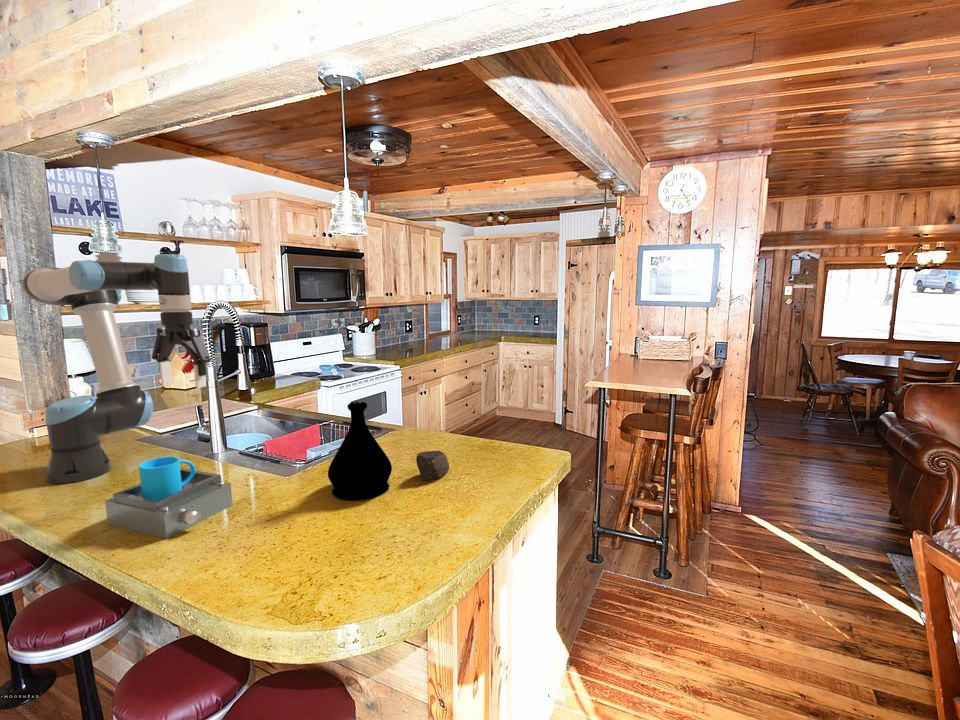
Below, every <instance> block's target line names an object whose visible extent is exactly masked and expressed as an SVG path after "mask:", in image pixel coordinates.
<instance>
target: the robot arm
mask: <svg viewBox="0 0 960 720" xmlns="http://www.w3.org/2000/svg"><path fill="white" fill-rule="evenodd" d="M153 259H154V260H153V261H154V262H133V261H132V262H130V261H128V262H127V261H104V260H103V261H101V260H100V261H99V260H92V259H90V260H89V259H87V260H75V261H72V262H71V265H69V266H66V267H44V268H43V267H42V268H38V269H33V270H31V271H29V272H27V273H26V274H25V275H24V276H23V279H22V290H23V291H24V292H25V294H26V295H27V296H29V298H31V299H32V300H34V301H36V302H38V303H42V304H45V305H50V306H70V307H71V310H72V313H73V314H75V315H77V316H79V317H80V321H81V323H82V327H83V330H84V335H85V338H86V342H87V344H88V349H89V352H90V356H91V359H92V363H93V367H94V370H95V373H96V378H97V380H98V381H97V382H98V385H99V388H98V391H97V392H95V396H96V398H95V397H94V396H93V395H79V396H73V397H69V398H68V397H67V398H65V399H60V400H57V401H55V402H53V403H51V404H50V405H48V406H47V407H46V409H45V424H46V430H47V435H48V443H49V447H50V458H49V461H48V465H47V470H46V471H45V472H46V474H45V477H46V481H47V482H48V483H50V484H68V483H69V484H70V483H76V482H77V483H78V482H81V481H86V480H90V479H93V478H97V477H99V476H101V475H104V474H106V473H108V472H109V471H110V470H111V469H112V464H111V461H110V459H109V456H108V455H107V453H106V451H105V450H104V448H103V447H102V443H101V437H102V436H104V435H109V434H114V433H117V432H122V431H127V430H130V429H131V430H133V429H135V428H139V427H142V426H145V425H146V424H147V423H149V422H150V420H151V418H152V417H153V416H152V415H153V413H154V403H153V399H152V396H151V394H150V393H149V391H147V390H141V386H140V384H138V383H136V382H134V381H133V378H132V375H131V372H130V371H131V370H130V368H129V364H128V360H127V356H126V353H125V349H124V346H123V343H122V339H121V335H120V332H119V329H118V325H117V321H116V317H115V315H114V313H115V310H116V309H117V308H118V305H117V304H119V303H120V301H122V291H126V290H127V291H128V290H129V291H133V290H134V291H143V290H144V291H153V290H154V291H155V290H157V295H158V303H159V310H161V311H162V312H160V314H159V316H160V324H161V325H162V326H164V327H157V328H156V338H155V342H154V347H153V352H152V355H151V359H152V360H153V361H154V360H155V361H156V362H157V363H158V370H159V374H160V381H161V383H160V384H161V385H162V386H166V385H170V384H173V378H172V367H171V361H170V355H171V354H172V352H173V350H174V348H175V346H176V345H181V346H182V347H184V349H185V350H186V351H187V353H188V354H189V356H190V357H191V359H192V360H193V361H194V364H193V372H194V380H195V381H194V382H195V389H201V388H204V387H207V379H206V376H207V370H206V369H207V368H206V364H207V363H208V362H212V358H211V356H210V353H209V351H208V349H207V347H206V344H205V342H204V340H203V338H202V336H201V330H200V328H197V327H196V328H191V325H193V323H194V322H193V321H194V320H193V312H192V311H190V310H192V299H191V291H190V279H189V267H188V264H187V258H186V257H185V256H184V255H183V254H182V255H181V254H172V253H171V254H170V253H165V254H163V253H160V254H156V255H154V258H153Z"/></svg>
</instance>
